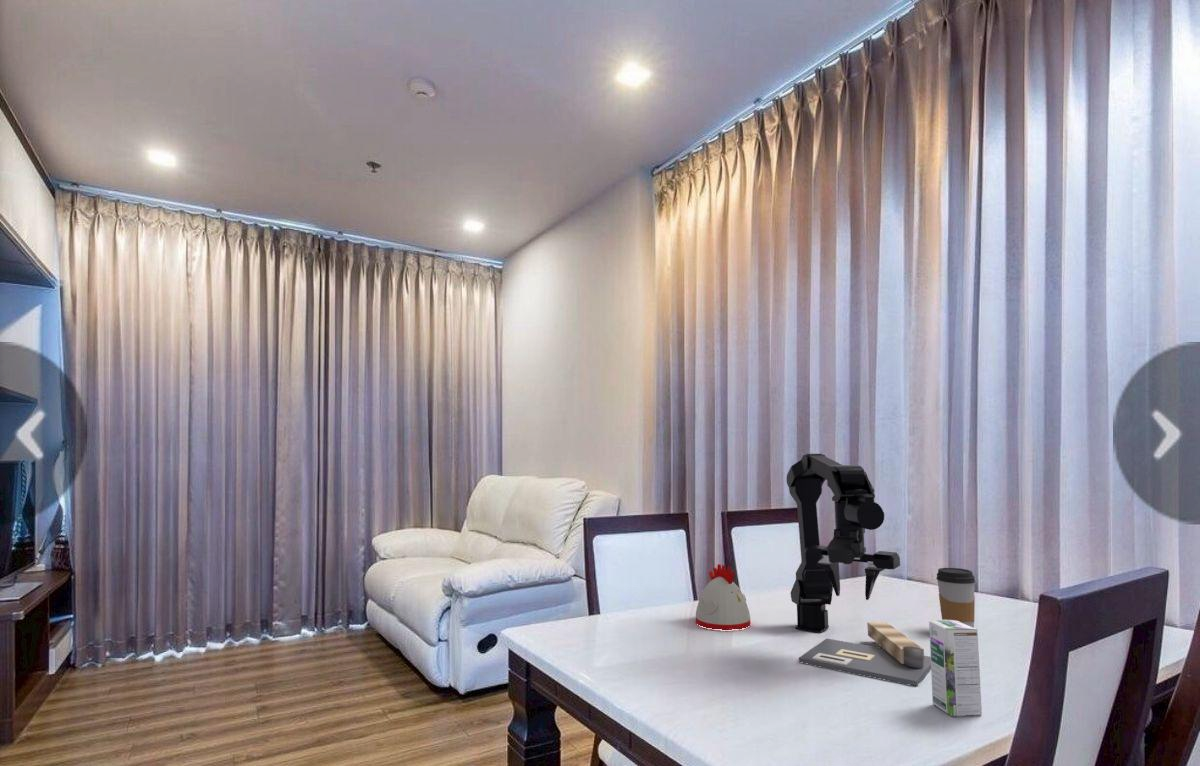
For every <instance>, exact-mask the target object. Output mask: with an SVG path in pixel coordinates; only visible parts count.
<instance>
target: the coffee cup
mask: <svg viewBox="0 0 1200 766" xmlns="http://www.w3.org/2000/svg"><path fill="white" fill-rule="evenodd" d="M936 580H937V587H938V599H939V607H940V613H941V620H955V621H959V622H961V623H963V624H965V625H968V626H970V627H972V628H975V613H976V612H975V609H976V608H975V605H976V604H975V603H976V601H975V599H976V598H975V583H976V580H975V575H974V573H973V571H972V570H969V569H966V568H965V569H964V568H958V567H957V568H956V567H941V568H938V569H937V573H936Z"/></svg>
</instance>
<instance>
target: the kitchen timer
mask: <svg viewBox="0 0 1200 766" xmlns="http://www.w3.org/2000/svg"><path fill="white" fill-rule="evenodd" d="M708 574H709V578H710V581H709V582H708V583H707V584H706V586H705V587H704V589H703V590H702V592H701V594H700V597H699V598H698V603H697V606H696V610H695V624H696V623H697V624H698V625H700V626H703V627H706V628H712V629H722V630H732V629H742V628H746V627H748V626H750V627H751V625H750V624H751V623H752V622H751V614H750V609H749V607H748V604H747V598H746V597H747V596H746V595H745V594H744V593H742V591H741V589H740V588H739V586H738V585H737V584H736V583H735V582H734V579H735V575H736V572H732V567H731V566H727V568H726V565H725V564H722V565H721V564H720V563H719V564H717V566H716V567H713V568H712V571H708ZM697 624H696V625H697ZM698 625H697V626H698Z"/></svg>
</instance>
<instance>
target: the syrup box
mask: <svg viewBox="0 0 1200 766" xmlns="http://www.w3.org/2000/svg"><path fill="white" fill-rule="evenodd" d="M928 625H929V649H930V651H929V652H930V657H931V670H930V674H931V677H930V678H931V692H932V693H931V696H932V700H931V701H932V705H933V706H935V705H936V707H937V708H938V709H940V710H941V711H943V712H945V714H947V715H948V716H949V717H951V716H957V717H964V716H963V715H974V716H982V715H983V712H982V709H983V708H982V707H983V706H982V694H981V688H982V687H981V674H980V673H981V672H980V671H981V670H980V654H979V653H980V652H979V651H980V650H979V633H978V628H976V627H974V628H972V627H970V626H968V625H965V624H963V623H961V622H959V621H955V620H942V619H934V620H929V624H928Z"/></svg>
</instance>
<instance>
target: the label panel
mask: <svg viewBox="0 0 1200 766" xmlns="http://www.w3.org/2000/svg"><path fill="white" fill-rule="evenodd" d="M798 662H803V663H802V664H804V663H808V664H807V665H809V664H812V665H811V666H814V665H816V666H815V667H819V666H821V667H820V668H823V667H825V668H824V669H828V668H830V669H829V670H833V669H835V670H834V671H838V670H841V671H840V672H843V671H844V673H848V672H850V674H853V673H855V674H854V675H858V674H861V675H860V676H863V675H865V676H864V677H867V676H871V677H870V678H872V677H876V678H875V679H877V678H881V679H880V680H882V679H885V680H884V681H887V680H890V681H889V682H892V681H894V683H897V682H900V683H899V684H902V683H904V684H903V685H907V684H910V685H909V686H911V685H914V686H913V687H916V686H917V687H919V685H920V684H921V683H922V681H923V680H924V679H925V677H926V676H927V675H928V674H929V673H930V672H931V656H928V655H924V664H923V667H921V668H913V667H908V666H906V665H904V664H901V663H900V662H899V661H898V660H897V659H895V658H894V657H893V656H892V655H891V654H890V653H888V652H887V651H886V650H885V649H884V648H882V647H876V646H871V645H867V644H860V643H855V642H849V641H844V640H838V639H833V638H832V639H831V638H825V639H823V640H822V641H821V642H818V644H817V645H815V646H814V647H812V648H811V649H810V650H808V651H806V652H805V653H803V654H802V655H801V656H799V657H798ZM920 682H921V683H920ZM919 683H920V684H919ZM918 684H919V685H918ZM915 685H916V686H915Z"/></svg>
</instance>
